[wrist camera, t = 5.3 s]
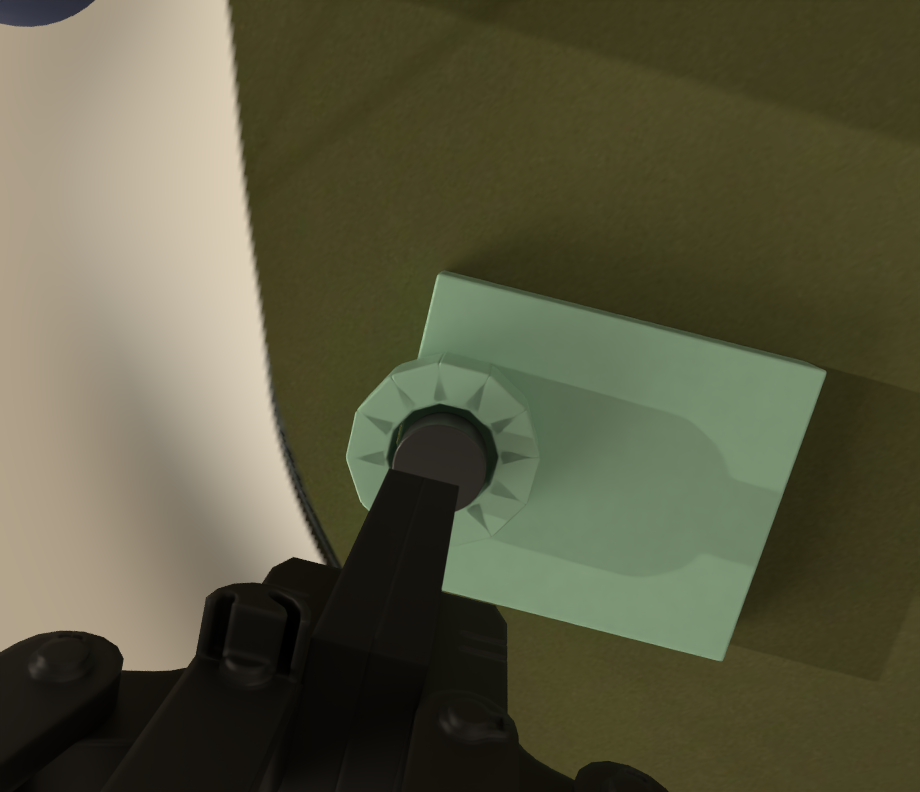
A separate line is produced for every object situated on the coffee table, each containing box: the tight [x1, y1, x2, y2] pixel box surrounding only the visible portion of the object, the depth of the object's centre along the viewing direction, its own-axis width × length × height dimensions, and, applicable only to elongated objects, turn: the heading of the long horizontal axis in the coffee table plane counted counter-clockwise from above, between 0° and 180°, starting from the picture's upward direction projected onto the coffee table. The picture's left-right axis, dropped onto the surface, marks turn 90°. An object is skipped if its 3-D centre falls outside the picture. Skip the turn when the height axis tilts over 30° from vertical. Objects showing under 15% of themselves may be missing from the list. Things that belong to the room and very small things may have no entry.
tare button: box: [392, 412, 487, 512], centre depth 22 cm, size 3×3×2 cm
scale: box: [346, 271, 826, 661], centre depth 24 cm, size 13×10×4 cm
